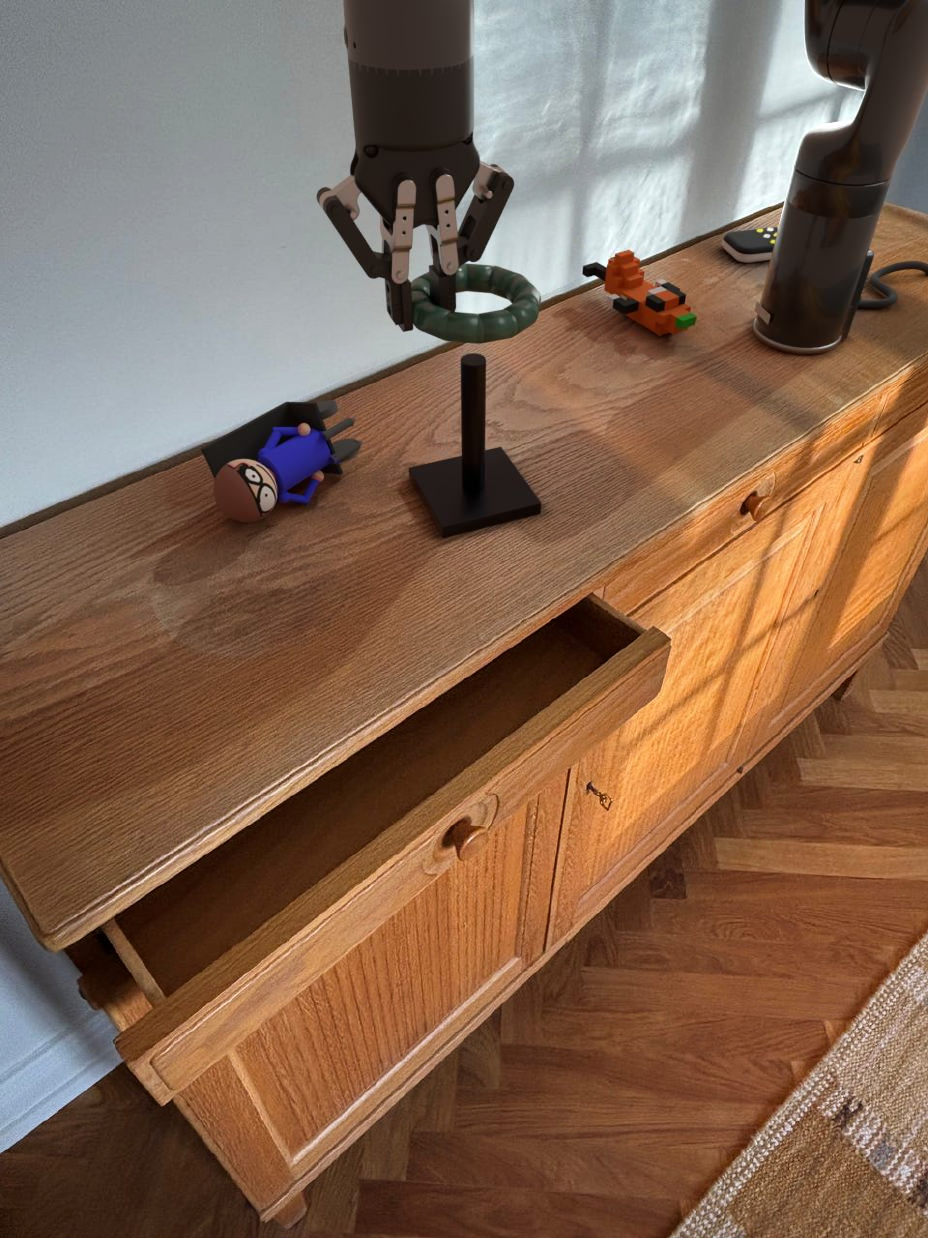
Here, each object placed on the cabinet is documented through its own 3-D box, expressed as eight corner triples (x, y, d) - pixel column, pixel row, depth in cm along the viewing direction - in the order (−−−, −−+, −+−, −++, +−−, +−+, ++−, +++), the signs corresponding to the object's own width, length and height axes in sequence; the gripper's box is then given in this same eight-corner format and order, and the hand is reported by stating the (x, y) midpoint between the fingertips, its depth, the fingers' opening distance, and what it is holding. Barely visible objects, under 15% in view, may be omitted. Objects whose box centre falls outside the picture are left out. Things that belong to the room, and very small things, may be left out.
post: (500, 456, 81) (504, 323, 71) (540, 513, 75) (550, 375, 65) (409, 478, 78) (400, 343, 69) (442, 538, 73) (438, 399, 63)
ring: (507, 277, 69) (508, 251, 68) (561, 334, 63) (564, 307, 61) (387, 296, 67) (386, 270, 65) (430, 358, 60) (430, 331, 59)
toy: (632, 234, 101) (723, 282, 92) (625, 284, 106) (712, 334, 97) (577, 250, 98) (665, 300, 89) (573, 301, 103) (657, 354, 94)
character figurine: (378, 473, 79) (248, 556, 72) (324, 439, 82) (194, 514, 75) (375, 401, 74) (233, 483, 66) (317, 367, 77) (175, 441, 69)
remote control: (717, 245, 113) (720, 230, 112) (805, 235, 115) (809, 220, 114) (739, 265, 109) (742, 249, 108) (830, 254, 111) (834, 238, 110)
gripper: (311, 75, 47) (344, 365, 59) (543, 50, 50) (529, 329, 63) (281, 43, 52) (317, 317, 64) (494, 22, 55) (490, 286, 68)
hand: (422, 322), depth 64 cm, fingers closed on ring, 2 cm apart
